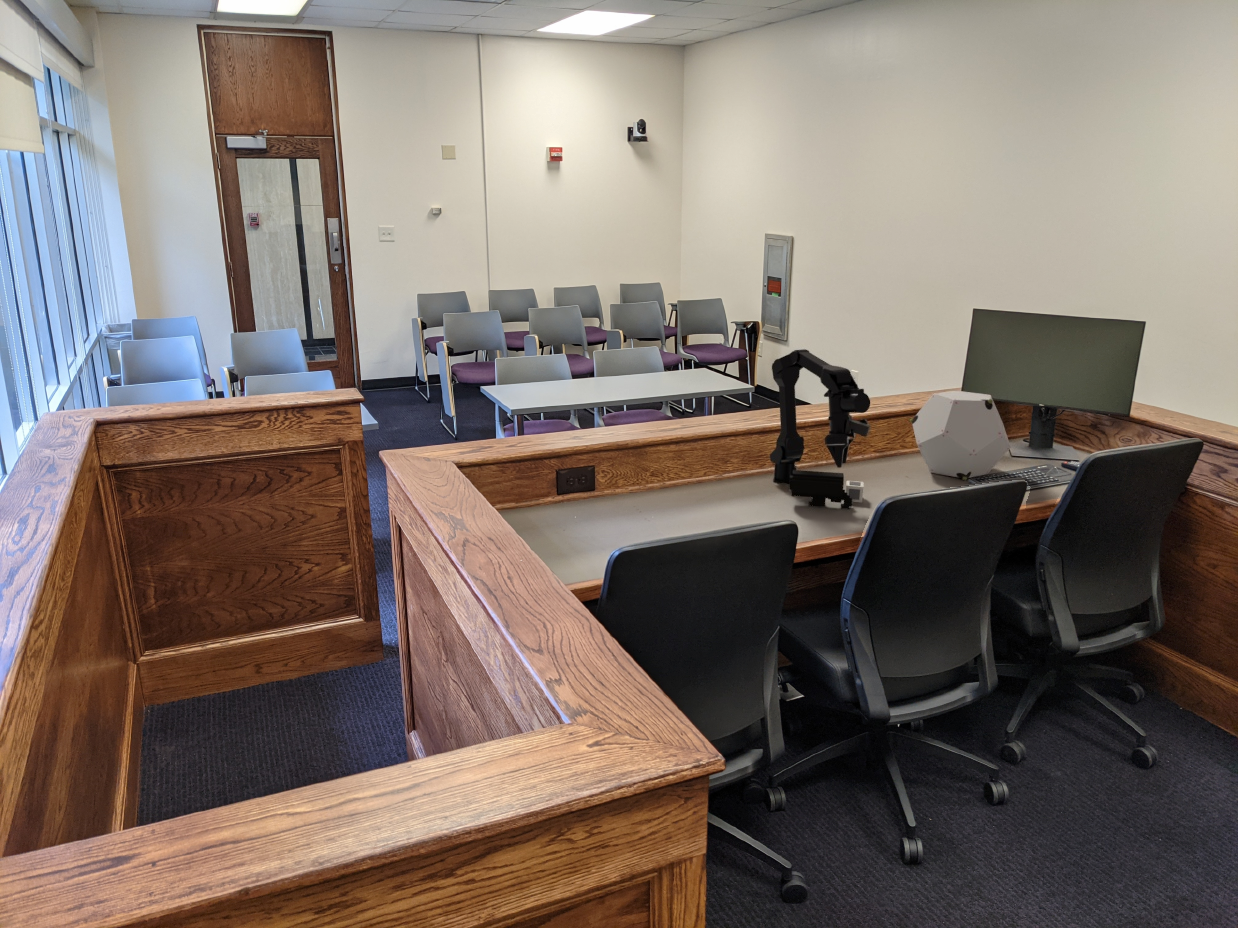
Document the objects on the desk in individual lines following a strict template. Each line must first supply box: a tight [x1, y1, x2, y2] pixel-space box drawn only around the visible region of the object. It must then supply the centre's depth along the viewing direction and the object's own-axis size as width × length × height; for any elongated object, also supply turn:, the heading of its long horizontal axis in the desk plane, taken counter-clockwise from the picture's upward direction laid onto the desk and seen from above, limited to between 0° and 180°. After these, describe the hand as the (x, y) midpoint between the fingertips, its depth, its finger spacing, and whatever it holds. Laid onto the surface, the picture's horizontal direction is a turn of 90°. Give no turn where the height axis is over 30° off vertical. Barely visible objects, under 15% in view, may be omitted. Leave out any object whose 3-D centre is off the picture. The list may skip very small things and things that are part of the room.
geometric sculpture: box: [909, 390, 1012, 481], centre depth 291 cm, size 30×30×30 cm
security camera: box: [788, 469, 853, 510], centre depth 259 cm, size 7×18×10 cm, turn 78°
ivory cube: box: [845, 480, 865, 503], centre depth 266 cm, size 5×5×5 cm
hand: (841, 465), depth 257 cm, fingers open, 9 cm apart
